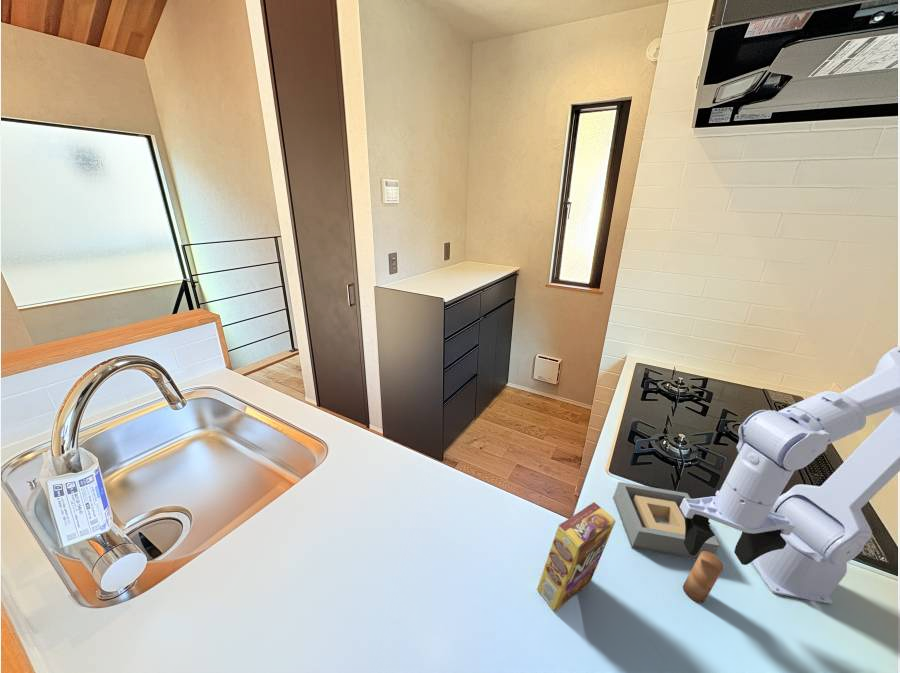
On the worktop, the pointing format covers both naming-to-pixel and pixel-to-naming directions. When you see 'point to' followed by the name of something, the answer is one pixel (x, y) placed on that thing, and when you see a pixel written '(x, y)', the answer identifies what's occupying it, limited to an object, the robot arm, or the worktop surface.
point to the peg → (703, 576)
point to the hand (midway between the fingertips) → (714, 554)
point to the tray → (655, 520)
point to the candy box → (575, 555)
